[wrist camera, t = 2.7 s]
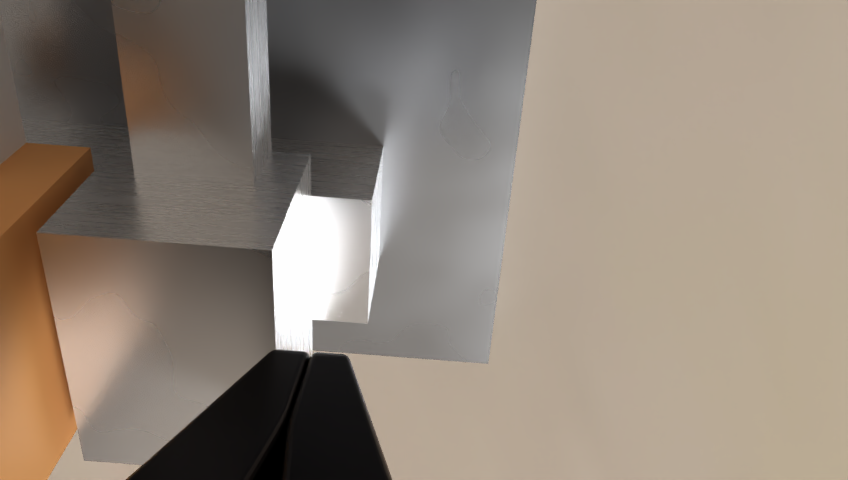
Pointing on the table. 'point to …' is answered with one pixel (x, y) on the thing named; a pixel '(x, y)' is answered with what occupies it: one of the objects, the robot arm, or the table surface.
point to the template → (265, 188)
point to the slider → (30, 293)
